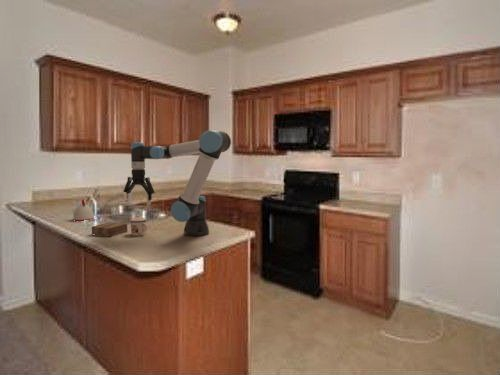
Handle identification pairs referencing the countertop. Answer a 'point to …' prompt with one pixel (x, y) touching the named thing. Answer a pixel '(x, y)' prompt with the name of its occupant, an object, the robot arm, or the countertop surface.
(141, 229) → the teacup with lid
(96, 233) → the block
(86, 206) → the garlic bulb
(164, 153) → the robot arm
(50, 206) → the countertop surface
